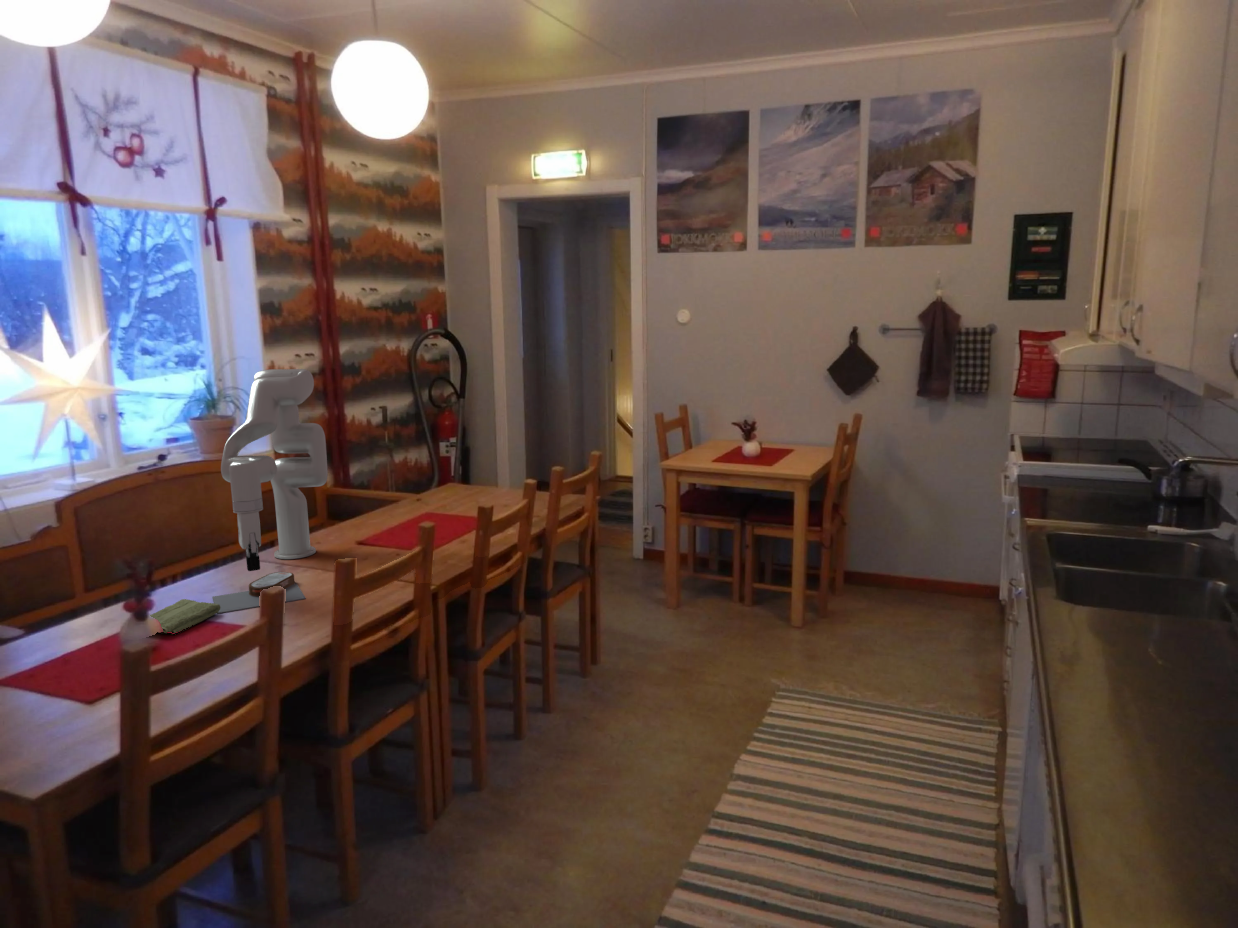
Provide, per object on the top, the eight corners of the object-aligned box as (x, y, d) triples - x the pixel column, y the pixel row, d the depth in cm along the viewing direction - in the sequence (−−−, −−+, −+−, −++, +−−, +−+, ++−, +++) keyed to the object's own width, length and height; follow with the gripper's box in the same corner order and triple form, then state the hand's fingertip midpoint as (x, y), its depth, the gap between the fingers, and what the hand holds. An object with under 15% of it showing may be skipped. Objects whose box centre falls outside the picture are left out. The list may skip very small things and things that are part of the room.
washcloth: (129, 632, 208) (127, 620, 207) (185, 607, 224) (184, 596, 224) (170, 638, 204) (169, 625, 203) (225, 612, 220) (224, 600, 220)
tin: (242, 595, 233) (270, 599, 232) (242, 584, 233) (269, 588, 231) (274, 578, 248) (300, 582, 246) (274, 568, 247) (300, 571, 246)
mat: (212, 597, 233) (212, 596, 233) (296, 584, 244) (296, 583, 244) (217, 613, 220) (217, 612, 220) (305, 598, 231) (305, 597, 231)
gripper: (230, 502, 237) (236, 565, 240) (235, 512, 224) (242, 579, 227) (259, 498, 240) (264, 561, 244) (266, 508, 228) (272, 574, 231)
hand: (253, 569), depth 235 cm, fingers closed
